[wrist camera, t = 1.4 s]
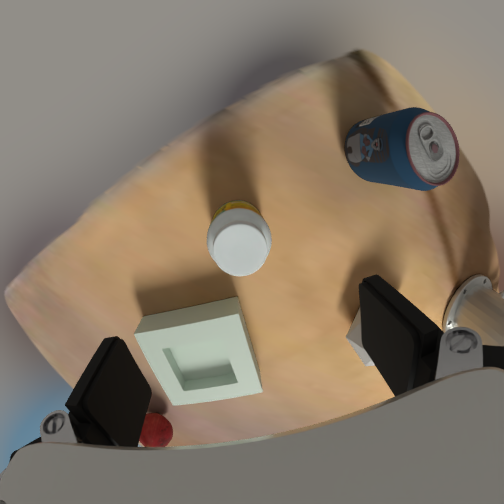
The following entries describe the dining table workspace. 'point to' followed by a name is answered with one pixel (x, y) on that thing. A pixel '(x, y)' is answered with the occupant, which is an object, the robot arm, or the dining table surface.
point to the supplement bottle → (238, 238)
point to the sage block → (201, 352)
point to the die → (358, 340)
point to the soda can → (404, 149)
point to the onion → (156, 431)
